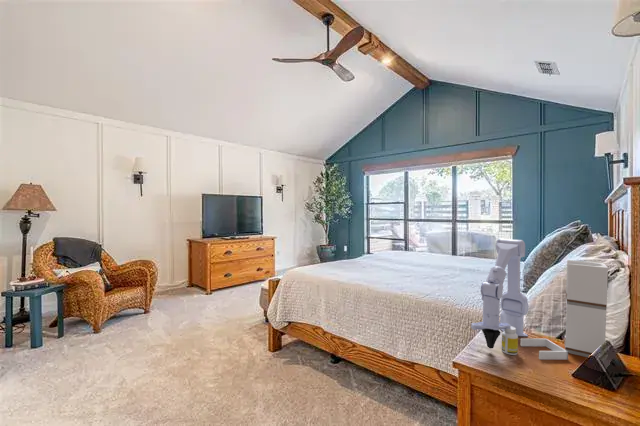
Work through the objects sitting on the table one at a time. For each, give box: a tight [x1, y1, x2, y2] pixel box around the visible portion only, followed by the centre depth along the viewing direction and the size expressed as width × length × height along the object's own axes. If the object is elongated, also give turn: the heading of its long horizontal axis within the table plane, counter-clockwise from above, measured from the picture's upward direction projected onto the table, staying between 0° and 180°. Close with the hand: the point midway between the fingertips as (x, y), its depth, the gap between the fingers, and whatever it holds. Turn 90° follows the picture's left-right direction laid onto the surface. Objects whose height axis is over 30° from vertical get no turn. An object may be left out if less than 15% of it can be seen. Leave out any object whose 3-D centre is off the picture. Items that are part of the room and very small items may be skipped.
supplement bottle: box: [501, 326, 519, 356], centre depth 121 cm, size 5×5×10 cm
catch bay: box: [519, 337, 569, 361], centre depth 121 cm, size 11×11×3 cm
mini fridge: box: [563, 259, 609, 358], centre depth 122 cm, size 11×11×35 cm
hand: (490, 347), depth 121 cm, fingers closed
